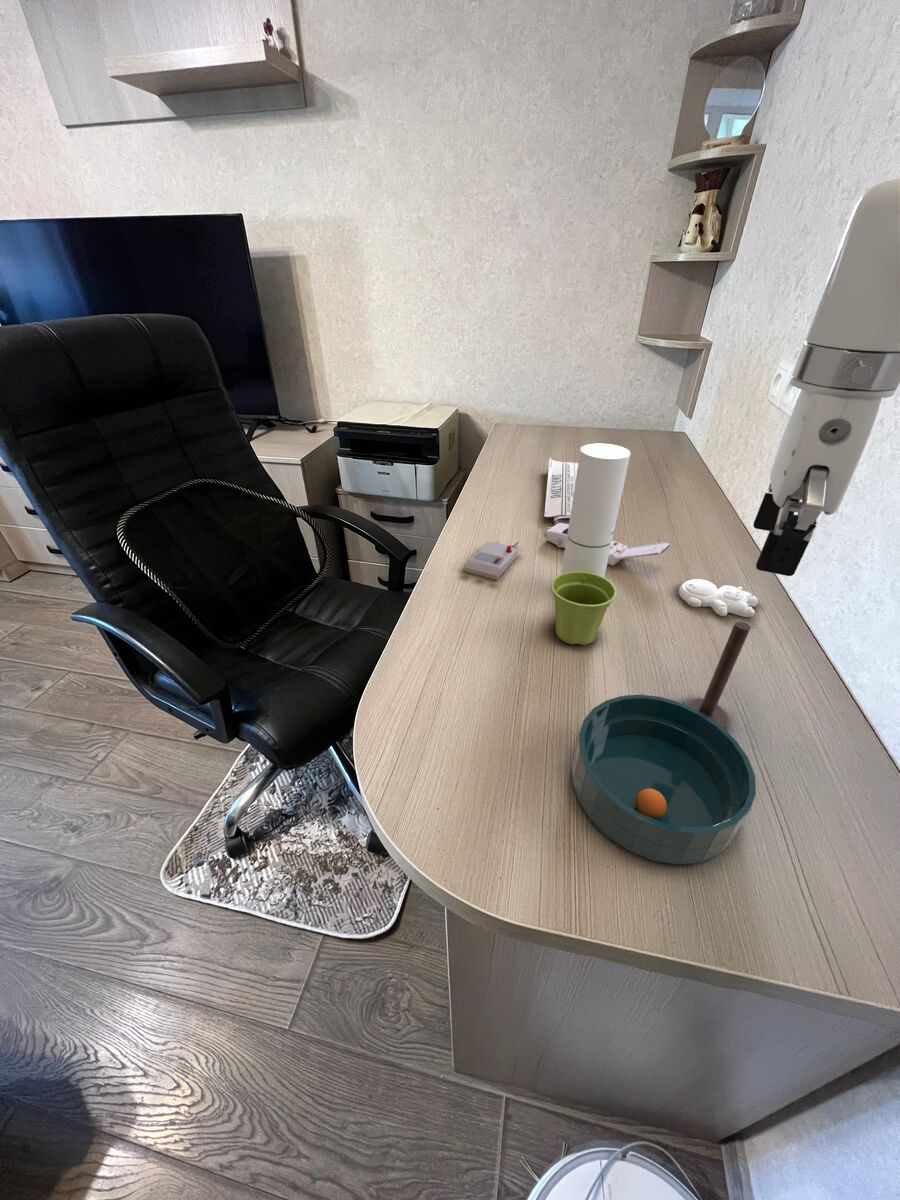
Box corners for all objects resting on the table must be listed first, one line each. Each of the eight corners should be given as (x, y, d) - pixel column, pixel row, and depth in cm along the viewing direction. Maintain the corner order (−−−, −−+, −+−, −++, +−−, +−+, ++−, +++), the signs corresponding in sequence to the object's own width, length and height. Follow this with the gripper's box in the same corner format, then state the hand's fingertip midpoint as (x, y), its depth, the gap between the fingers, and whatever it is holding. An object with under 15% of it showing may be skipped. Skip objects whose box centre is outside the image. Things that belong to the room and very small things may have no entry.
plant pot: (532, 631, 79) (537, 585, 74) (570, 608, 84) (578, 564, 79) (580, 662, 73) (589, 614, 68) (618, 635, 78) (629, 589, 73)
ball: (664, 806, 53) (671, 789, 51) (661, 830, 51) (668, 813, 49) (634, 795, 54) (641, 778, 52) (630, 818, 52) (637, 801, 50)
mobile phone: (659, 553, 87) (537, 513, 100) (651, 582, 90) (534, 539, 104) (672, 542, 91) (553, 504, 104) (664, 570, 94) (549, 529, 108)
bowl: (735, 758, 59) (752, 723, 56) (736, 898, 46) (759, 864, 43) (588, 711, 65) (596, 677, 61) (554, 824, 52) (561, 789, 49)
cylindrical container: (605, 588, 89) (636, 448, 75) (592, 608, 84) (622, 462, 70) (567, 577, 92) (589, 440, 78) (552, 595, 87) (573, 453, 73)
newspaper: (602, 530, 108) (604, 515, 106) (543, 526, 109) (545, 511, 107) (588, 472, 136) (590, 459, 134) (542, 469, 138) (543, 457, 136)
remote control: (459, 576, 92) (460, 561, 90) (494, 540, 103) (494, 527, 102) (493, 585, 90) (493, 570, 88) (524, 548, 101) (525, 534, 99)
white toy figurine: (747, 626, 80) (754, 611, 78) (672, 600, 86) (676, 585, 84) (759, 602, 86) (766, 587, 84) (687, 578, 92) (692, 564, 90)
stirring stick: (725, 709, 65) (766, 618, 57) (725, 737, 61) (769, 644, 53) (684, 697, 67) (718, 608, 59) (681, 724, 63) (717, 632, 55)
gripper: (933, 396, 34) (824, 601, 44) (879, 357, 47) (804, 523, 57) (806, 385, 37) (730, 581, 46) (788, 351, 50) (731, 510, 59)
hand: (770, 549), depth 52 cm, fingers open, 9 cm apart
